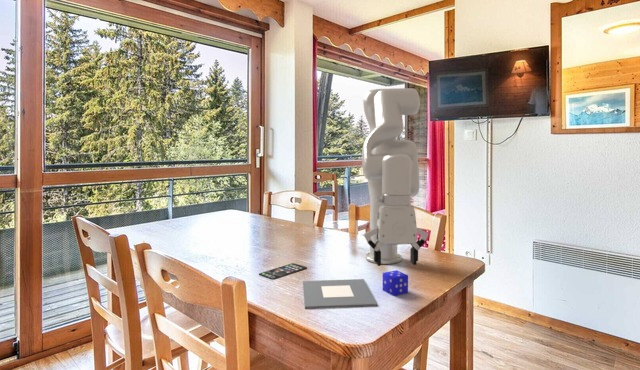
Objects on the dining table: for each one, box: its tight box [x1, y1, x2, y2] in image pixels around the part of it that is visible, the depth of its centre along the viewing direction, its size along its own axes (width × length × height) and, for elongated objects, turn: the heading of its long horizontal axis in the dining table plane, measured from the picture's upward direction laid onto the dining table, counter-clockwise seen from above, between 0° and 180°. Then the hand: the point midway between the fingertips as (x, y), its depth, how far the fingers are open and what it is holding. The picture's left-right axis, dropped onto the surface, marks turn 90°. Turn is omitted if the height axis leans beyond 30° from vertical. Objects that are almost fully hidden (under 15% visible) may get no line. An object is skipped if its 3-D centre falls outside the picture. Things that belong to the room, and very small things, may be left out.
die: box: [382, 269, 409, 297], centre depth 104 cm, size 5×5×5 cm
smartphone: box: [258, 262, 308, 281], centre depth 122 cm, size 7×1×15 cm
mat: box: [302, 278, 378, 309], centre depth 103 cm, size 18×18×1 cm
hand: (395, 264), depth 102 cm, fingers open, 9 cm apart
